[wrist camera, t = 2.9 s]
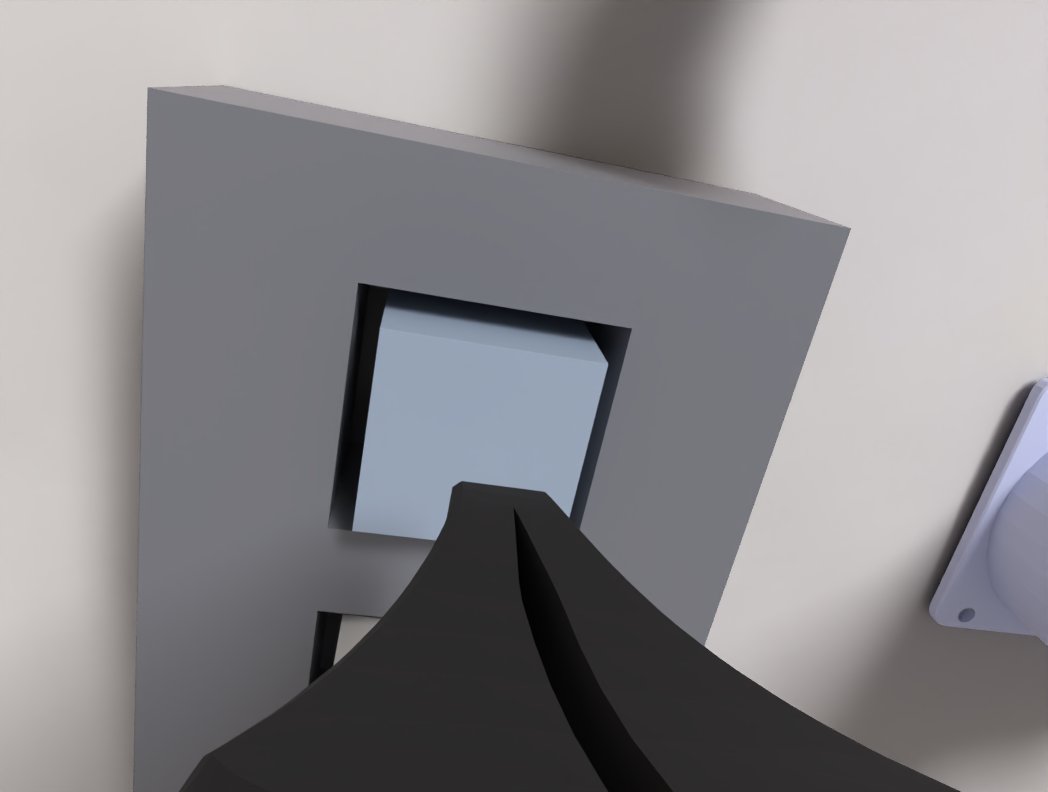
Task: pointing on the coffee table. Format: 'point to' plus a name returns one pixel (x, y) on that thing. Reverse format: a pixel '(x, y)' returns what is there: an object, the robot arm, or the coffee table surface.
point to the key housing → (349, 360)
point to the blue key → (472, 408)
